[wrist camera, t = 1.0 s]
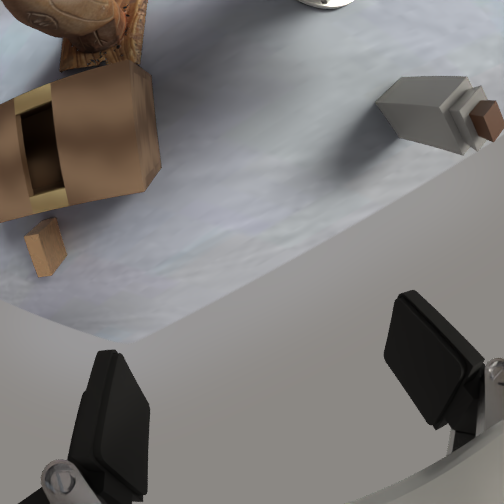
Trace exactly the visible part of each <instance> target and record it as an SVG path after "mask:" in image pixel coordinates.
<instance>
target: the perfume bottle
mask: <svg viewBox="0 0 504 504" xmlns="http://www.w3.org/2000/svg"><path fill="white" fill-rule="evenodd" d="M375 103H376V105H377V106H378V107H379V109H380V110H381V112H382V113H383V114H384V116H385V117H386V119H387V120H388V122H389V123H390V125H391V126H392V128H393V129H394V131H395V132H396V134H397V135H398V137H399V138H402V139H406V140H410V141H414V142H418V143H422V144H425V145H429V146H433V147H436V148H440V149H443V150H447V151H450V152H453V153H456V154H460V155H464V154H465V153H466V151H467V150H468V149H469V148H470V147H472V148H473V149H475V150H476V151H477V152H478V151H479V149H480V148H481V147H482V145H483V144H484V143H485V142H486V140H489V141H492V142H494V141H495V140H496V139H497V137H498V136H499V134H500V133H501V132H502V130H503V129H504V120H503V117H502V115H501V112H500V109H499V107H498V104H497V102H496V101H492V100H488V99H487V97H486V95H485V93H484V90H483V88H482V86H478V87H474V88H473V87H472V85H471V83H470V81H469V79H468V77H461V76H421V77H402V78H400V79H399V80H398V81H397V82H396V83H395V84H394V85H393V86H392V87H391V88H390V89H389V90H388V91H386V92H385V93H384V94H383V95H382V96H381V97H380V98H379V99H378V100H377V101H376V102H375Z"/></svg>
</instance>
